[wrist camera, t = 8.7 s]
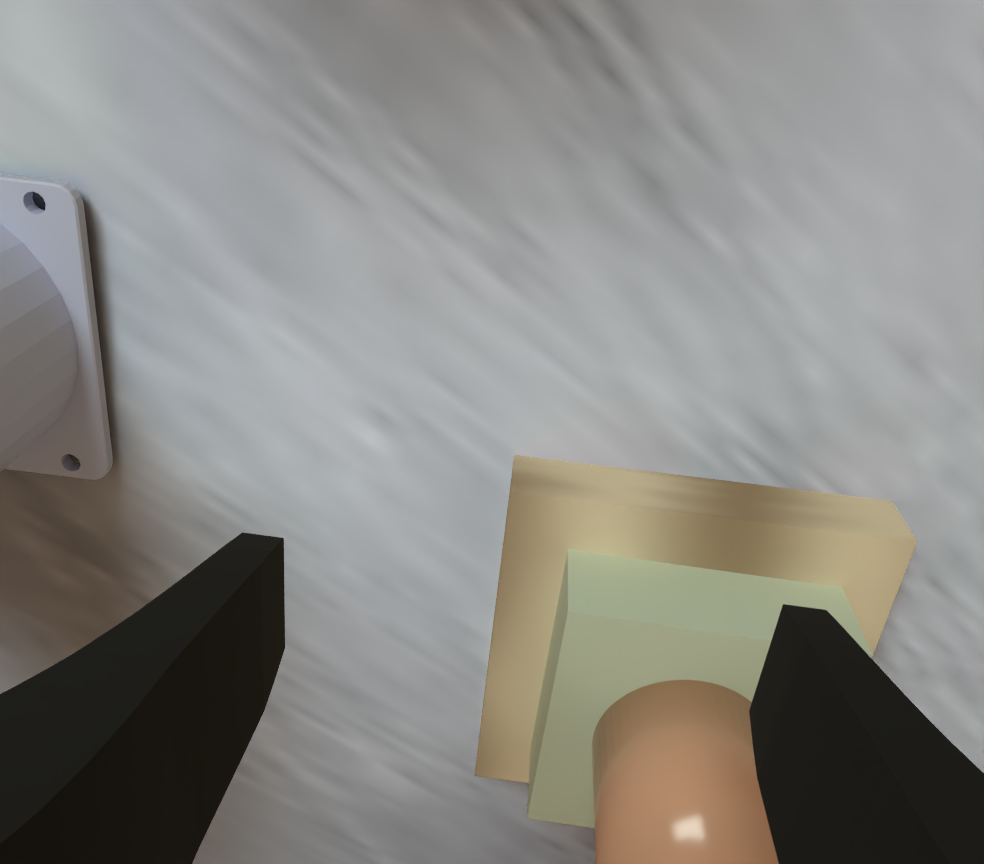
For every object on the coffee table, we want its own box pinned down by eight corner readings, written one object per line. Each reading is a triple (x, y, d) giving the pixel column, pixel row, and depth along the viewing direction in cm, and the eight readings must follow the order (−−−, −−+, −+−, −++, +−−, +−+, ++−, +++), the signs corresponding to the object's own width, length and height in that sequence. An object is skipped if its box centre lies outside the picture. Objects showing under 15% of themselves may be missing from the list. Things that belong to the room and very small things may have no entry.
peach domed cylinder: (580, 797, 23) (583, 970, 19) (606, 668, 21) (615, 832, 17) (749, 819, 23) (788, 997, 19) (792, 692, 21) (846, 861, 17)
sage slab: (530, 745, 26) (526, 818, 23) (567, 549, 22) (568, 611, 20) (770, 780, 25) (789, 856, 23) (842, 587, 22) (872, 654, 20)
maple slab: (482, 714, 29) (474, 776, 26) (515, 444, 24) (510, 491, 22) (790, 753, 28) (809, 819, 26) (883, 488, 24) (917, 541, 21)
